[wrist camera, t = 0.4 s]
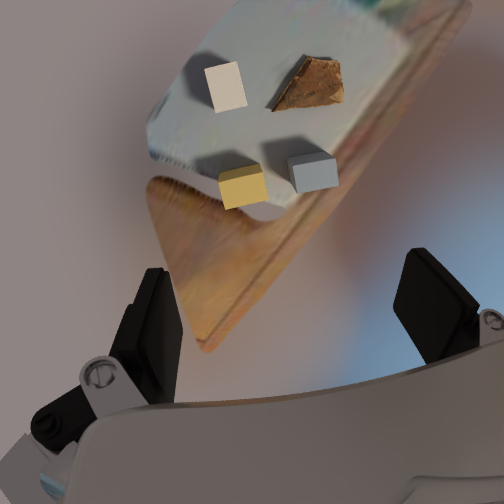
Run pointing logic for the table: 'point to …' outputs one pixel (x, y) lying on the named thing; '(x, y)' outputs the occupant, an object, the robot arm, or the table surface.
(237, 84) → the cream brick
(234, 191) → the mustard brick
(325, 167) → the slate brick
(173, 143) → the table surface
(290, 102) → the shard
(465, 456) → the robot arm
